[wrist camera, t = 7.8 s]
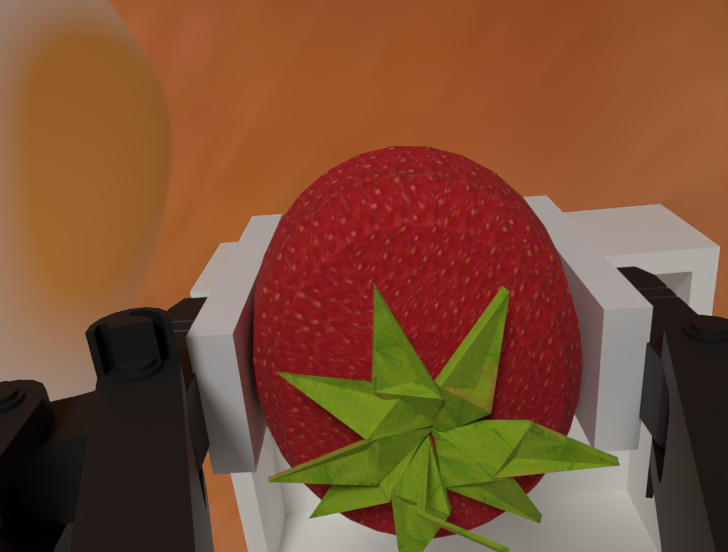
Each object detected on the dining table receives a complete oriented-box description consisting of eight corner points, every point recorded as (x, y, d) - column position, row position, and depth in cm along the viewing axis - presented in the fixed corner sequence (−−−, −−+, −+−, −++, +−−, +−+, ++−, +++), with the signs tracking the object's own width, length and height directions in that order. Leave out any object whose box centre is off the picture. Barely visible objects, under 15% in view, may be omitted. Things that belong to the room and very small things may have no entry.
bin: (220, 243, 33) (190, 292, 28) (660, 203, 32) (720, 246, 26) (274, 515, 40) (258, 598, 35) (636, 491, 39) (679, 572, 33)
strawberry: (509, 88, 15) (718, 205, 6) (519, 364, 18) (673, 731, 9) (263, 118, 16) (109, 273, 6) (311, 384, 19) (251, 759, 9)
